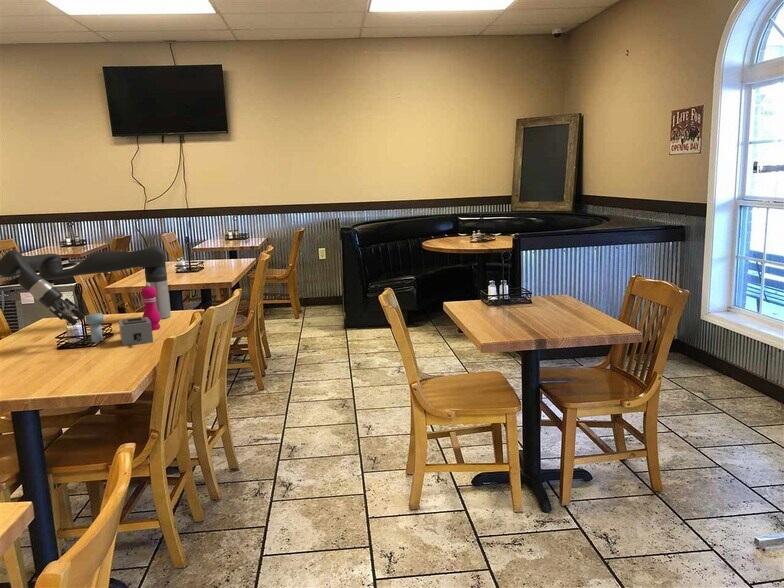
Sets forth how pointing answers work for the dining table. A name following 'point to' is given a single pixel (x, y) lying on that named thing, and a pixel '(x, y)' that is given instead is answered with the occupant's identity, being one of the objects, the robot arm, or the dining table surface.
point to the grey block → (135, 330)
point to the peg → (95, 326)
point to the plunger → (137, 336)
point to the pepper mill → (150, 306)
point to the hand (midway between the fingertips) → (79, 321)
